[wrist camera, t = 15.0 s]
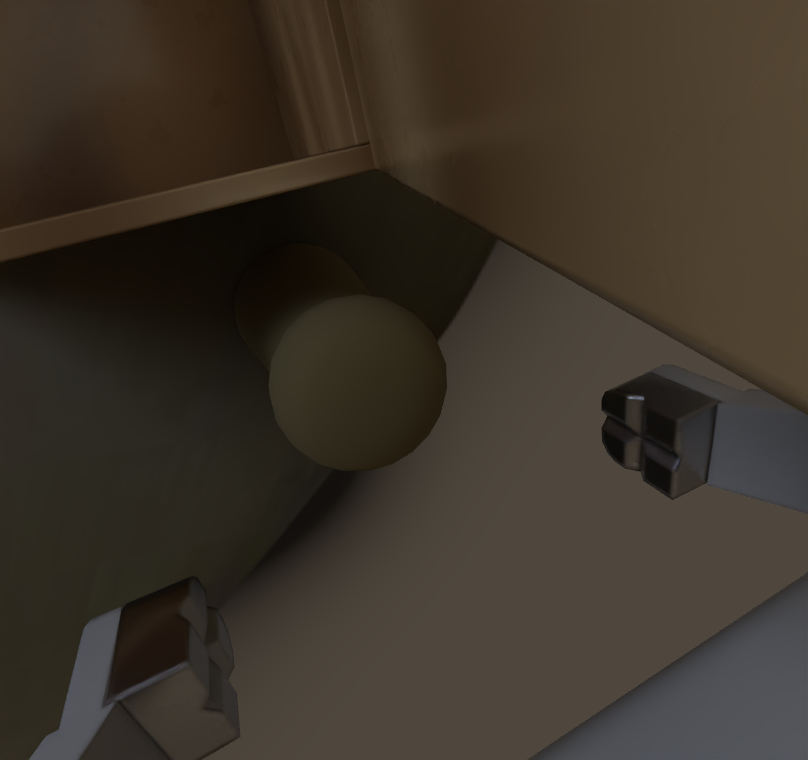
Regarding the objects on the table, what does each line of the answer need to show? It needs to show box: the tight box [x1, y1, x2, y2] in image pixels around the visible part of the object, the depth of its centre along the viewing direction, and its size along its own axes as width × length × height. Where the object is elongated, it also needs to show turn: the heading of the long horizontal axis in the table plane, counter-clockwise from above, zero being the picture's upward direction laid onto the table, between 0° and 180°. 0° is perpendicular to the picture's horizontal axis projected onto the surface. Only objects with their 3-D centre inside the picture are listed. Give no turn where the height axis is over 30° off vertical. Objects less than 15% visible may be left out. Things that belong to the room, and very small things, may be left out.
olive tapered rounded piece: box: [234, 243, 447, 471], centre depth 17 cm, size 6×6×11 cm
